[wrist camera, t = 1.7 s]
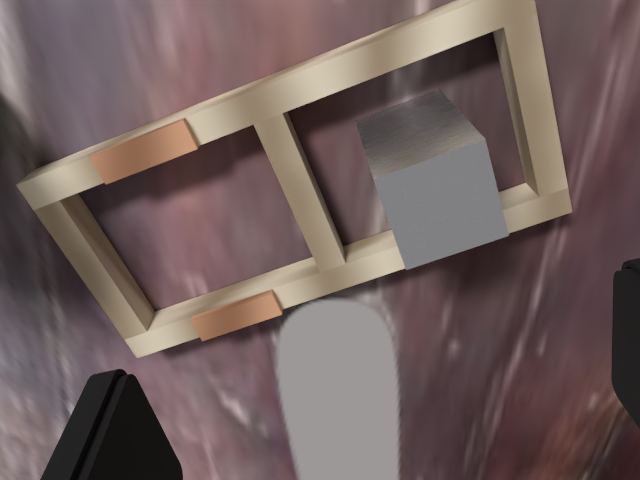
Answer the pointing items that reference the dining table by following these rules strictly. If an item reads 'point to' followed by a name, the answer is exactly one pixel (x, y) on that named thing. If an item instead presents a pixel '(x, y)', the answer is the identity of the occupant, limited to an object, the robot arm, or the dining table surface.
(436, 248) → the grey rectangular block
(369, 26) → the dining table surface
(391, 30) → the wooden frame
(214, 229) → the dining table surface
